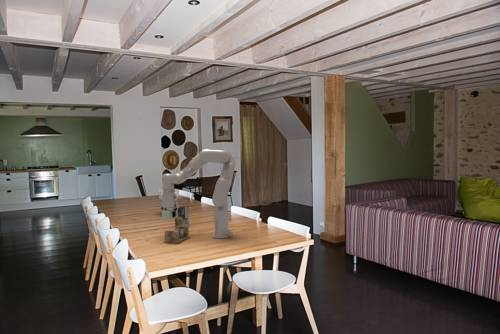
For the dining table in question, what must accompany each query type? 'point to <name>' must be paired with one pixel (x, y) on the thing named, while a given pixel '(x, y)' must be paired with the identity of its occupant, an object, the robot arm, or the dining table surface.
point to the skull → (162, 193)
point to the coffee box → (182, 216)
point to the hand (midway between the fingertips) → (169, 216)
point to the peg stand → (177, 235)
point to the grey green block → (168, 214)
